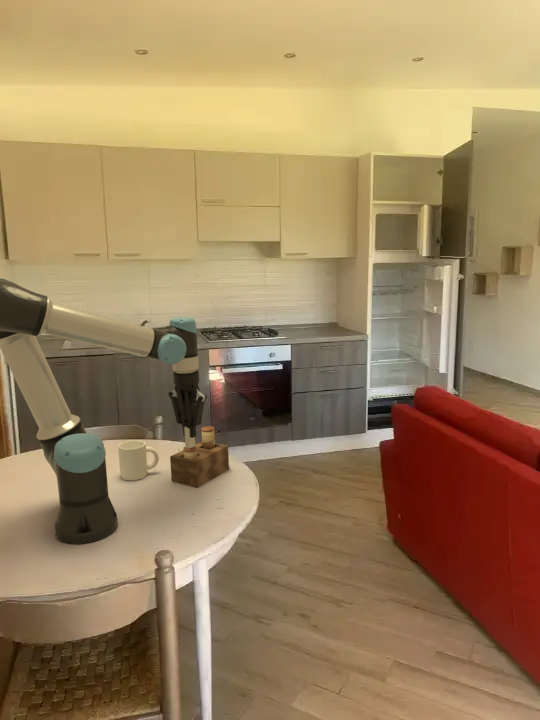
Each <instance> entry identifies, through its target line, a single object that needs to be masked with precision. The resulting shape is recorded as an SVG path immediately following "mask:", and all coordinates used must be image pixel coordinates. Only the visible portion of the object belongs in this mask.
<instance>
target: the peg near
mask: <svg viewBox="0 0 540 720" xmlns="http://www.w3.org/2000/svg"><path fill="white" fill-rule="evenodd" d="M183 451H184V458H188V459H193V458H195V457H197V447H196V446H194V447H192V448H190V449H188V448H186V446H184V447H183Z"/></svg>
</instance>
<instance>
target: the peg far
mask: <svg viewBox="0 0 540 720" xmlns="http://www.w3.org/2000/svg"><path fill="white" fill-rule="evenodd" d="M215 435H216V434H215V427H214V426H211V425H208V426H207V425H205V426H203V427H201V441H202V448H204V449H208V450H211V449H213V448H215V443H216V439H215V438H216V436H215Z"/></svg>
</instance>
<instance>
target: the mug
mask: <svg viewBox="0 0 540 720" xmlns="http://www.w3.org/2000/svg"><path fill="white" fill-rule="evenodd" d="M146 444H147V443H146V442H145V441H144V440H140V439H138V440H137V439H136V440H135V439H133V440H131V439H130V440H127V441H123V442H121V443H118V445H117V448H118V451H117V452H118V460H119V461H118V462H119V472H120V474H119V475H120V477H121V479H123V480H125V481H128V482H129V481H138V480H142V479H143V478H145V477H146V476H147V475H148V471H149V470H153V469H155V467H156V466H157V465H158V464H159V459H160V457H159V453H158V451H157V449H155V448H154V447H151V446H147V445H146ZM149 452H150V453H152V454H153V457H154V458H153V459H154V460H153V462H152V463H151V464H148V461H147V460H148V459H147V453H149Z"/></svg>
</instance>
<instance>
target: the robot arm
mask: <svg viewBox="0 0 540 720" xmlns="http://www.w3.org/2000/svg"><path fill="white" fill-rule="evenodd" d="M43 334H44V335H49V336H53V337H57V338H62V339H66V340H70V341H74V342H79V343H84V344H88V345H92V346H97V347H101V348H105V349H109V350H115V351H118V352H123V353H127V354H131V355H132V356H133V357H144V358H147V359H150V360H155V361H160V362H162V363H164V364H169V365H172V371H173V372H172V378H173V380H172V381H173V384H174V385H175V386H174V389H173V390H172V391H169V392H168V396H169V398H170V401H171V404H172V408H173V411H174V416H175V421H176V423H177V424H180V425H181V427H182V433H183V434H182V435H183V436H184V444H185V445H184V447H186V448H188V449H190V448H192V447H194V446H195V444H196V439H195V438H196V437H197V426H200V425H202V420H203V413H204V407H205V402H206V400H207V398H208V396H207V394H203V393H202V392H201V390H200V387H199V383H200V371H199V370H198V369H199V354H198V352H199V351H198V329H197V323H196V320H195V318H193V317H189V316H181V317H179V316H178V317H173V318H171V319H170V320H169V324H168V325H166V326H161V327H160V326H158V327H147V326H143V325H139V324H136V323H134V322H133V323H131V322H129V321H125V320H121V319H118V318H113V317H110V316H106V315H102V314H98V313H95V312H91V311H88V310H83V309H79V308H76V307H73V306H68V305H65V304H60V303H57V302H53V301H52V300H51V298H50V297H49V296H48V295H44V294H41V293H38V292H34V291H33V290H30V289H28V288H25V287H23V286H21V285H19V284H17V283H15V282H12V281H11V280H7V279H5V278H0V350H1V353H2V355H3V357H4V360H5V361H6V363H7V365H8V368H9V370H10V372H11V374H12V375H13V378H14V379H15V382H16V384H17V386H18V388H19V389H20V392H21V394H22V396H23V398H24V400H25V403H26V404H27V406H28V408H29V410H30V412H31V415H32V417H33V419H34V420H35V423H36V425H37V426H38V431H37V433H36V436H35V437H36V439H37V441H38V443H39V445H40V447H41V449H42V451H43V456H44V458H45V459H46V461H47V463H48V464H49V465H50V467H51V469H52V470H53V472H54V474H55V476H56V480H57V481H56V483H57V492H58V499H59V501H58V502H59V507H58V510H57V516H56V520H55V523H54V534H55V538H56V539H57V540H58V541H60V542H62V543H65V544H73V545H74V544H75V545H76V544H87V543H92V542H96V541H99V540H102V539H104V538H106V537H108V536H110V535H111V534H113V533H114V532H115V531H116V530H117V529H118V527H119V526H118V525H119V521H118V519H119V518H118V514H117V512H116V510H115V507H114V506H113V503H112V501H111V498H110V496H109V488H108V487H109V484H108V474H107V463H106V461H107V460H106V456H107V454H106V453H107V452H106V448H105V445H104V444H105V443H104V441H103V440H102V439H101V438H100V437H99V436H97V435H95V434H91V433H88V432H87V430H86V429H85V427H84V425H83V422H82V420H81V418H80V417H79V416H78V415H75V414H72V413H71V410H70V408H69V406H68V404H67V401H66V400H65V398H64V396H63V394H62V391H61V389H60V387H59V384H58V381H56V378H55V375H54V374H53V371H52V369H51V367H50V365H49V362H48V360H47V359H46V356H45V354H44V352H43V350H42V347H41V345H40V343H39V341H38V339H37V337H40V336H41V335H43Z"/></svg>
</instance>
